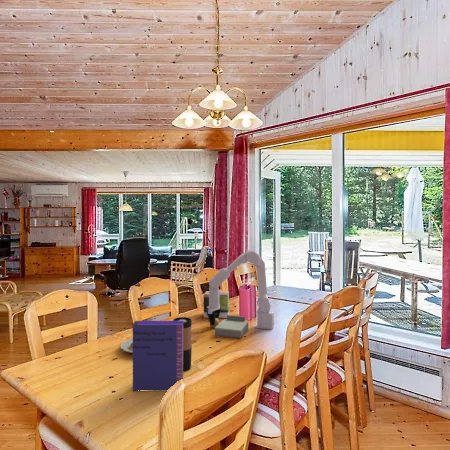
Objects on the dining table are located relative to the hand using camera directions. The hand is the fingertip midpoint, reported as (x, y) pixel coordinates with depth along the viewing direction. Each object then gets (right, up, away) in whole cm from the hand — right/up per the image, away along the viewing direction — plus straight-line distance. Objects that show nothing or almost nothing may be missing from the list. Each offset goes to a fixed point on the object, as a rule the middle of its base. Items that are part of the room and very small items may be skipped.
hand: (214, 323), depth 199 cm
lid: (+10, +1, -8) cm, 13 cm away
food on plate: (-30, -4, -32) cm, 44 cm away
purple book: (-18, -4, -70) cm, 72 cm away
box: (+10, -3, -8) cm, 13 cm away
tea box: (+1, -2, +23) cm, 23 cm away
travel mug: (-11, -4, -53) cm, 54 cm away
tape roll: (0, -1, 0) cm, 1 cm away
